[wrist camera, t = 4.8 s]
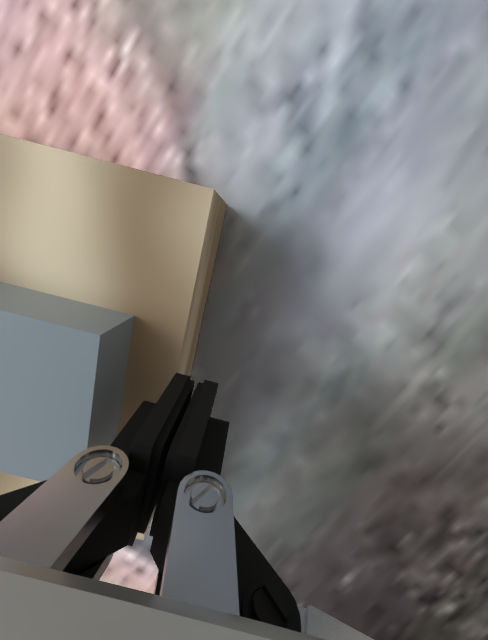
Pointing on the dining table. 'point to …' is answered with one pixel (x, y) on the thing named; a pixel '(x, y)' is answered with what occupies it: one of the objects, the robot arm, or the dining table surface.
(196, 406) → the robot arm
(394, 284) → the dining table surface
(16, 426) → the tile
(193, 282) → the board
